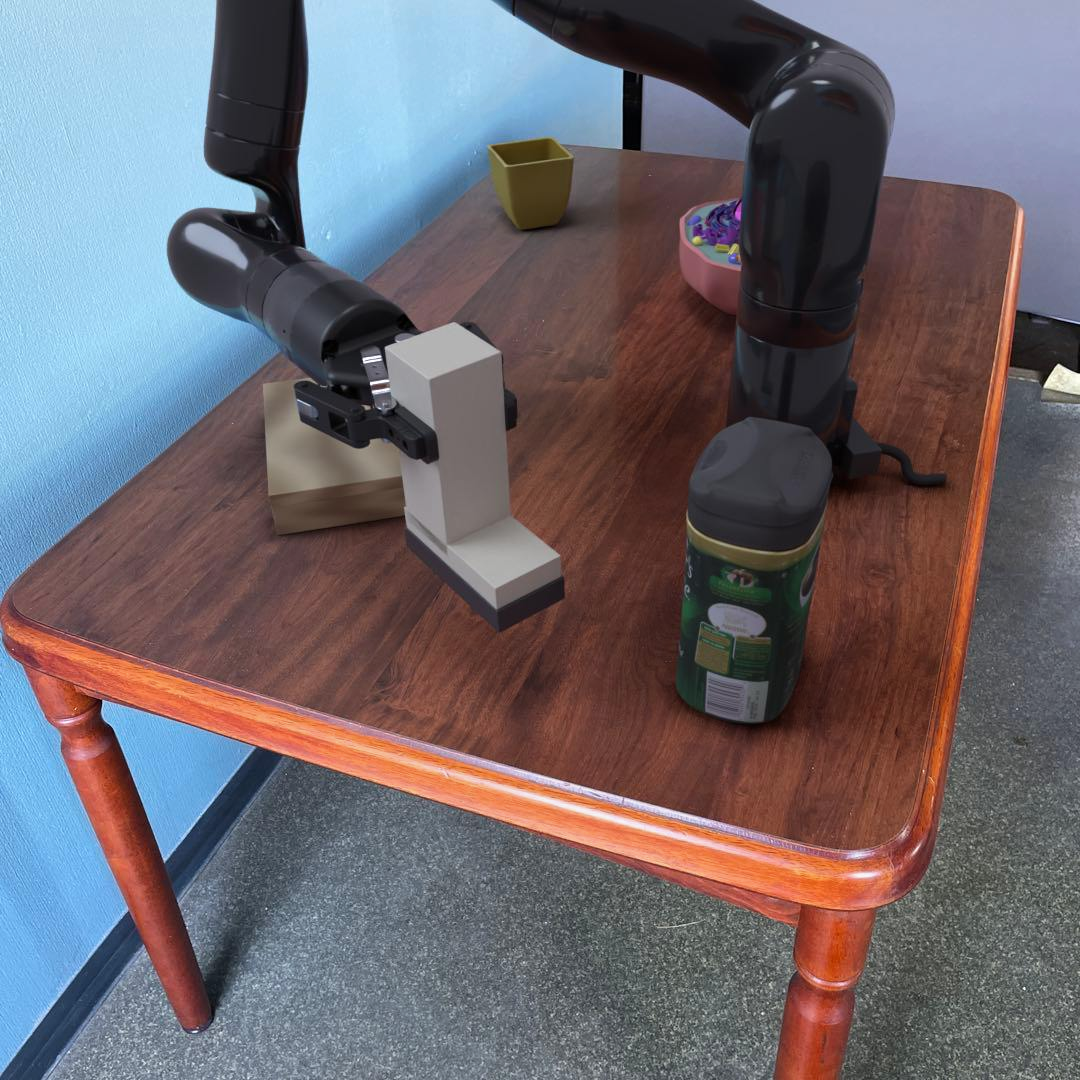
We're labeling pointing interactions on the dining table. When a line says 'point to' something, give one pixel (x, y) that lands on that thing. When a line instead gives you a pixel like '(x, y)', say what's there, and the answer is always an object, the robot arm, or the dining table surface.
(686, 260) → the cell model
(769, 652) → the coffee jar
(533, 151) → the flower pot
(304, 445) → the tan flat block
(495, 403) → the boot
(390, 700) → the dining table surface
